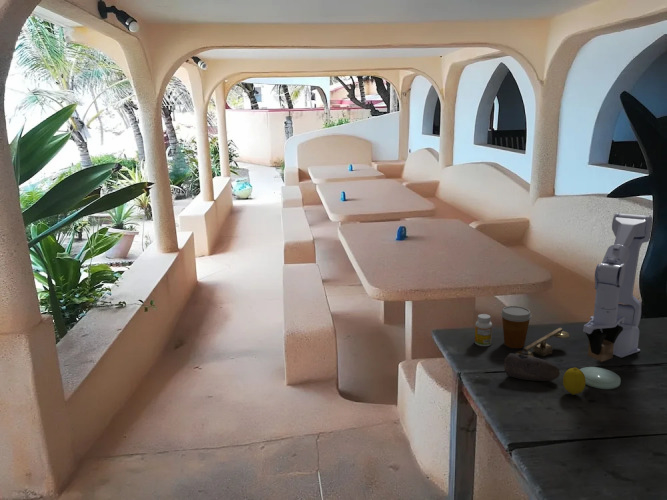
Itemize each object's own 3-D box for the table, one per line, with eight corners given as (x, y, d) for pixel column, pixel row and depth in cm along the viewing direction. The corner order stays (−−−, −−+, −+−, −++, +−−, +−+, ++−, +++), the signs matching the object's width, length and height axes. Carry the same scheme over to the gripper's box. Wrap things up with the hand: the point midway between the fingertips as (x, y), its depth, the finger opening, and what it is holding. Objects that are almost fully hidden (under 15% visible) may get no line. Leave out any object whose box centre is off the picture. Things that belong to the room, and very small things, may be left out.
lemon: (578, 388, 145) (580, 362, 143) (588, 399, 139) (590, 372, 137) (558, 389, 145) (560, 363, 143) (567, 400, 139) (570, 373, 137)
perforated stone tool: (558, 378, 151) (560, 356, 149) (559, 387, 146) (561, 364, 144) (504, 371, 156) (505, 349, 154) (502, 379, 151) (504, 357, 150)
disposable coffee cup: (493, 344, 174) (495, 310, 170) (508, 335, 180) (510, 303, 177) (520, 353, 167) (522, 318, 164) (534, 344, 173) (537, 310, 170)
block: (598, 351, 151) (599, 337, 150) (612, 357, 147) (614, 343, 146) (587, 355, 149) (588, 340, 148) (601, 361, 145) (603, 346, 144)
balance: (558, 342, 173) (560, 324, 172) (571, 348, 169) (573, 329, 167) (512, 357, 164) (513, 337, 163) (524, 363, 160) (526, 343, 158)
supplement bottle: (478, 338, 179) (479, 311, 176) (493, 342, 175) (495, 314, 173) (472, 344, 174) (473, 317, 172) (488, 348, 171) (489, 320, 169)
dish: (594, 366, 157) (594, 363, 156) (629, 382, 147) (629, 378, 147) (568, 376, 152) (569, 372, 151) (603, 392, 142) (603, 389, 142)
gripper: (610, 296, 150) (605, 340, 154) (575, 306, 144) (571, 351, 147) (633, 304, 144) (628, 349, 148) (598, 314, 138) (593, 361, 141)
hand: (601, 351), depth 147 cm, fingers closed on block, 4 cm apart
